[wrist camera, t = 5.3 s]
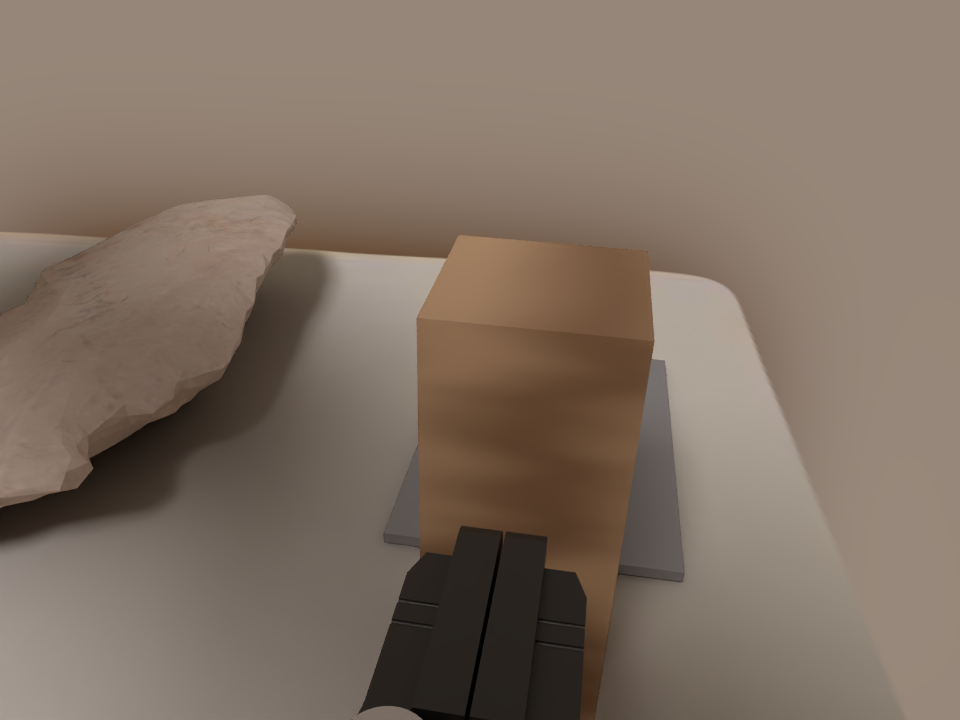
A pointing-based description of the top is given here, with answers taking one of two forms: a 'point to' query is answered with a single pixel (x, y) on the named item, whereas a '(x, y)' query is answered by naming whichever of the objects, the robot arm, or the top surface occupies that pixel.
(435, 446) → the block
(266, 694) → the top surface
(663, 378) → the mat
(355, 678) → the top surface
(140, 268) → the stone
